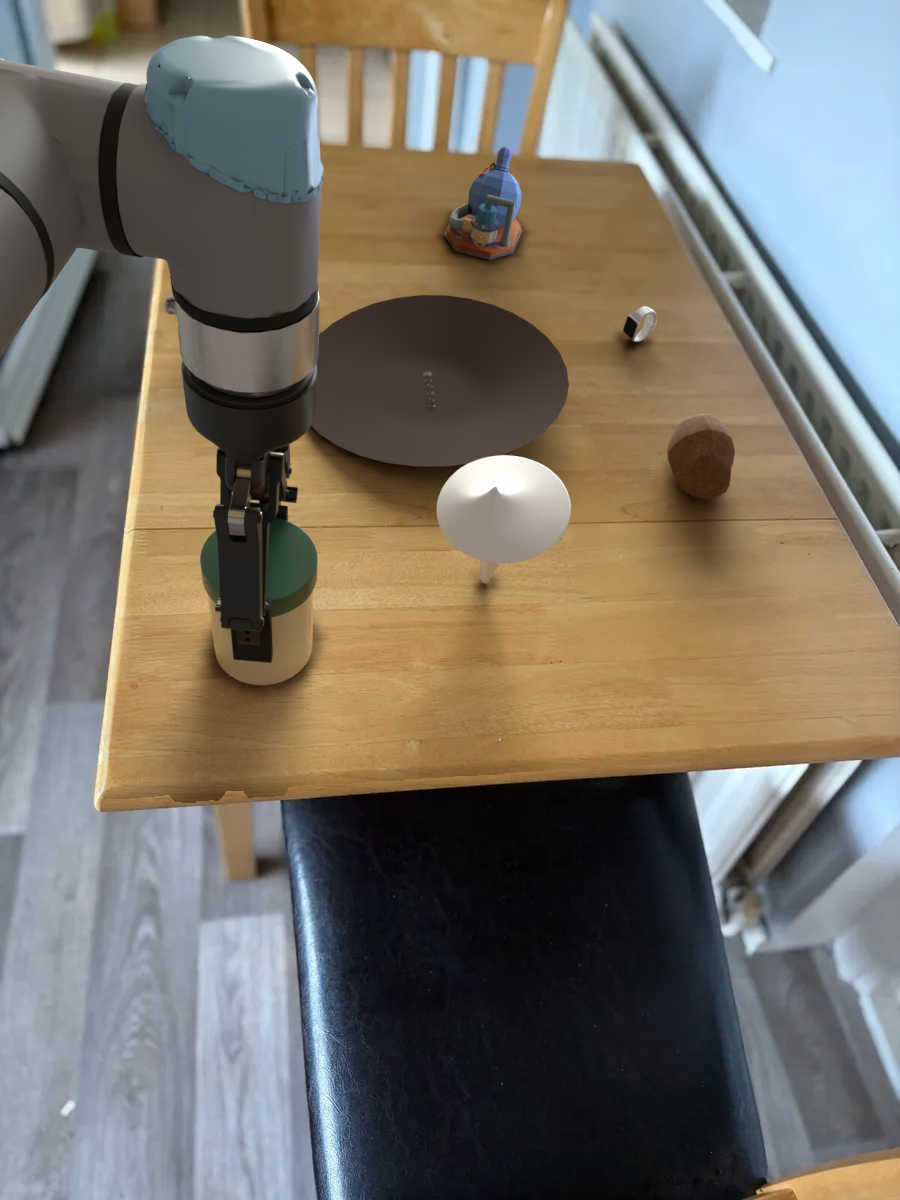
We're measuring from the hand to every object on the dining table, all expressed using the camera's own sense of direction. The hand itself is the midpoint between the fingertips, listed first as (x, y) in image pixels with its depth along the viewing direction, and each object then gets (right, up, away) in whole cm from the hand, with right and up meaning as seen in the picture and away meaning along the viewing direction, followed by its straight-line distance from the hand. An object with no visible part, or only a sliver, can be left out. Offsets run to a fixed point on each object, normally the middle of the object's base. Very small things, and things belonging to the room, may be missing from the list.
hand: (262, 609), depth 68 cm
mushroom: (+17, +2, +11) cm, 21 cm away
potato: (+39, +13, +23) cm, 47 cm away
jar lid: (+1, +3, -4) cm, 6 cm away
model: (+18, +48, +48) cm, 70 cm away
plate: (+12, +22, +27) cm, 37 cm away
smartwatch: (+36, +31, +38) cm, 61 cm away
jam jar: (-1, -3, +4) cm, 5 cm away
